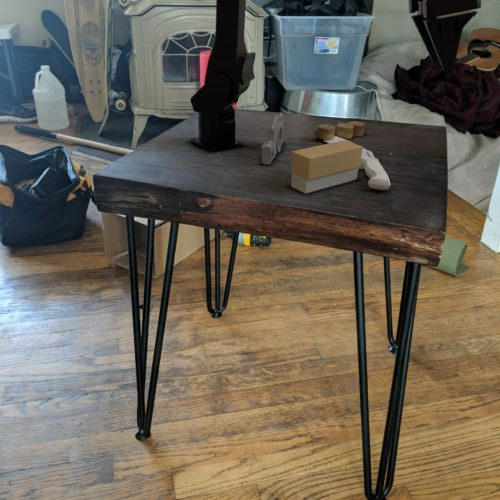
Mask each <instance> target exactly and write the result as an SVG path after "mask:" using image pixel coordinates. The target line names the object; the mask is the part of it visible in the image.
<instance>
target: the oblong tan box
mask: <svg viewBox="0 0 500 500" xmlns="http://www.w3.org/2000/svg"><path fill="white" fill-rule="evenodd" d="M345 140H346V139H345ZM345 140H343V141H338V142H333V143H324V144H321V145H316V146H315V145H314V146H310V147H306V148H301V149H296V150H292V151H291V158H290V159H291V160H290V174H291V180H290V181H291V182H290V187H291V188H293V189H295V190H297V191H299V192H301V193H303V194H310V193H312V192H316V191H320V190H324V189H328V188H331V187H334V186H338V185H341V184H345V183H349V182H353V181H356V180H357V178H358V172H359V169H358V167H360V163H361V156H362V149H363V148H364V146H362V145H359V144H357V143H354V142H352V141H350V142H348V141H349V140H347V141H345ZM351 142H352V143H351Z"/></svg>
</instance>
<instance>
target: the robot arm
mask: <svg viewBox="0 0 500 500" xmlns="http://www.w3.org/2000/svg"><path fill="white" fill-rule="evenodd" d="M215 1H216V3H215V37H214V42H213V45H212V48H211V52H210V54H209V57H208V60H207V65H206V70H205V75H204V82H203V85H202V86H201V87H200V88H199V89H198V90H197V91H196V93H194V94H193V95H192V96H191V97H190V99H189V101H190V104H191V107H192V109H193V112H194V113H197V116H198V119H197V120H198V137H194V138H191V139H190V142H191V143H192V144H195V145H196V146H199V147H200V148H202V149H204V150H207V151H209V152H216V151H221V150H226V149H231V148H235V147H236V148H237V147H241V146H243V142H242V141H240V140H237V139H236V124H237V123H236V122H237V121H236V109H234V105H236V104H238V102H239V99H240V96H242V95H243V94H244V93H245V92H246V91H248V89H249V87H250V85H251V82H252V81H253V80H255V78H256V76H255V72H254V67H255V60H256V54H257V53H256V52H255V51H251V52H248V50H247V46H246V42H245V27H246V26H245V25H246V9H247V8H246V6H247V0H215ZM481 8H482V0H408V13H409V14H411V15H410V18H411V20H412V21H413V23H414V26H415V28H416V30H417V32H418V34H419V36H420V38H421V41H422V42H423V45H424V46H425V49H426V52H427V53H428V55H429V58H430V60H431V62H432V64H439V63H440V65H441V67H442V69H443V72H445V73H450V72H453V71H454V70H455V65H456V60H457V55H458V52H459V46H460V42H461V38H462V34H463V30H464V28H465V26H466V25H467V24H468V23H469V22H470V21H471V20H472V19H473V18H474V17H476V15H477V14H478V9H481ZM412 14H413V15H412Z"/></svg>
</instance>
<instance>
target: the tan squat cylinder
mask: <svg viewBox="0 0 500 500" xmlns="http://www.w3.org/2000/svg"><path fill="white" fill-rule="evenodd" d="M334 136H336V126H335V125H332V124H330V123H329V124H327V123H322V124H318V126H317V136H316V137H317V139H319V140H322V139H323V140H331V139H334ZM323 140H322V141H323Z"/></svg>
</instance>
